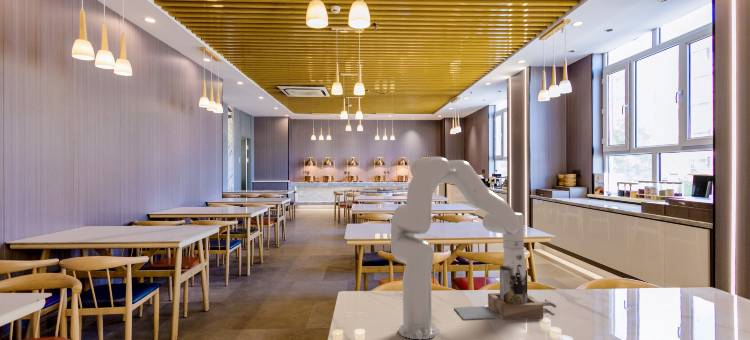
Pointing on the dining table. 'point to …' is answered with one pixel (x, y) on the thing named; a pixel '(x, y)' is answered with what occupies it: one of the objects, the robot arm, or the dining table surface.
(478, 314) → the mat
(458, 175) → the robot arm
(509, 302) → the coffee box
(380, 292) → the dining table surface
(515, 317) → the open brown box
